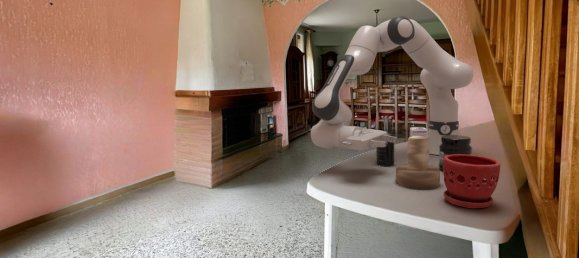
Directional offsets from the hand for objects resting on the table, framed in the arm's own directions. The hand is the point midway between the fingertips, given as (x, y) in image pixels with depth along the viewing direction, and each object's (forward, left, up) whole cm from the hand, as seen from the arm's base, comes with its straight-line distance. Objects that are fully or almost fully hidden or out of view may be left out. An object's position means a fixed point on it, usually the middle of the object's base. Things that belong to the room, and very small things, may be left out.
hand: (391, 141), depth 111 cm
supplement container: (-16, +22, -13) cm, 30 cm away
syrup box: (-20, +10, -13) cm, 26 cm away
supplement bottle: (-20, -2, -13) cm, 24 cm away
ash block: (+3, +8, -8) cm, 12 cm away
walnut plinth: (+3, +8, -13) cm, 16 cm away
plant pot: (+18, +20, -13) cm, 30 cm away
